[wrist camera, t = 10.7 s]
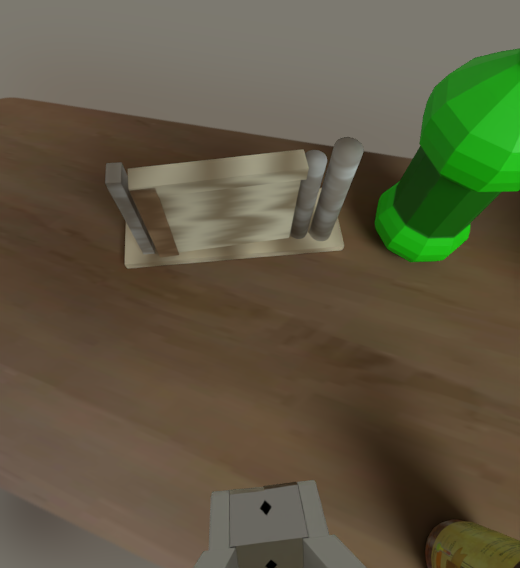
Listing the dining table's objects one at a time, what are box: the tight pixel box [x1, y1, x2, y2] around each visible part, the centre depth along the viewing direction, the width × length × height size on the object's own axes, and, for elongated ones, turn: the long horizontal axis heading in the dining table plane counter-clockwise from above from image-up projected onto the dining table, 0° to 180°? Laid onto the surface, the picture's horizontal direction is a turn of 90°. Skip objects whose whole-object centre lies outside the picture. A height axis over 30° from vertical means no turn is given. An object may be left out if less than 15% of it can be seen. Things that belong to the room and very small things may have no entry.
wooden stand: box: [105, 137, 364, 268], centre depth 37 cm, size 24×8×14 cm, turn 96°
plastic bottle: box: [375, 49, 520, 262], centre depth 32 cm, size 10×10×25 cm
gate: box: [128, 149, 327, 258], centre depth 36 cm, size 16×2×12 cm, turn 100°
